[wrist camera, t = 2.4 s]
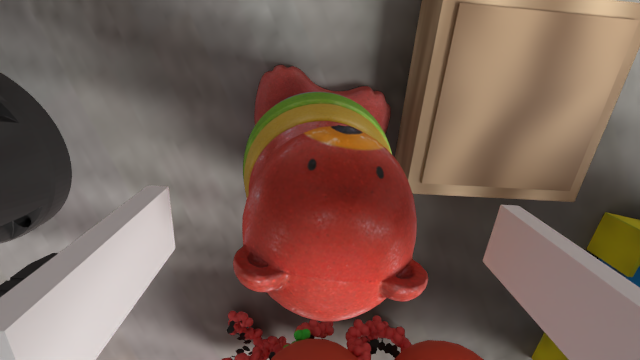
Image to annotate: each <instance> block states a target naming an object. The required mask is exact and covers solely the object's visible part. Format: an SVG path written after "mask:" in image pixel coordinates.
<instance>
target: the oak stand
mask: <svg viewBox="0 0 640 360" xmlns="http://www.w3.org/2000/svg"><path fill="white" fill-rule="evenodd" d="M639 47H640V3H634V2H624V1H615V0H422V2H421V8H420V14H419V20H418V25H417V31H416V37H415V43H414V49H413V54H412V60H411V66H410V72H409V78H408V83H407V89H406V95H405V101H404V107H403V112H402V118H401V124H400V130H399V136H398V141H397V147H396V153H395V159H396V160H397V161H398V162H399V164H400V166H401V167H402V169H403V171H404V173H405V175H406V177H407V179H408V182H409V185H410V187H411V191H412V194H429V195H448V196H468V197H487V198H507V199H526V200H546V201H565V202H575V199H576V197H577V194H578V192H579V190H580V187H581V185H582V183H583V180H584V178H585V175H586V173H587V171H588V168H589V166H590V164H591V161H592V159H593V156H594V154H595V152H596V149H597V147H598V145H599V142H600V140H601V137H602V135H603V133H604V130H605V128H606V126H607V123H608V121H609V118H610V116H611V114H612V111H613V109H614V107H615V104H616V102H617V99H618V97H619V95H620V92H621V90H622V87H623V85H624V83H625V80H626V78H627V76H628V73H629V71H630V68H631V66H632V64H633V61H634V59H635V57H636V54H637V52H638V49H639Z"/></svg>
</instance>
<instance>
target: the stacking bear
mask: <svg viewBox="0 0 640 360" xmlns="http://www.w3.org/2000/svg"><path fill="white" fill-rule="evenodd" d="M390 114H391V109H390V106H389V105H388V104H387V103H386V101H385V96H384V94H383V93H382V92H380V91H373V90H372V89H371V88H370V87H368V86H362V87H358V88H355V89H351V90H348V91H330V90H327V89H324V88H321V87H319V86H317V85H316V84H315V83H313V82H312V81H311V80H310V79H309V78H308V77H307V76H306V75H305V74H304V73H303V72H302V71H301V70H300V69H298V68H297V67H294V66H291V67H285V66H284V65H277V66H275V67H274V69H273V71H268V72H266V73H265V74H264V75H263V76H262V78H261V80H260V83H259V86H258V91H257V95H256V101H255V115H254V118H255V127H254V128H253V130H252V132H251V134H250V136H249V139H248V142H247V145H246V149H245V154H244V161H243V178H244V185H245V192H246V197H247V200H246V205H245V209H244V213H243V224H242V231H243V247H242V248H241V249H239V250H238V251H237V252H236V254H235V256H234V261H233V267H234V272H235V275H236V276H237V278H238V279H239V281H240V282H241V284H243V285H244V286H245V287H247V288H248V289H251V290H253V291H256V292H267V293H268V294H269V295H270V297H271V298H273V299H274V300H275V301H277V302H278V303H279V304H280V305H282V306H283V307H284V308H286V309H288V310H290V311H292V312H293V313H296V314H298V315H300V316H302V317H306V318H309V319H313V320H318V321H339V320H345V319H349V318H353V317H356V316H358V315H360V314H363V313H365V312H367V311H369V310H371V309H372V308H374V307H375V306H377V305H379V304H380V303H381V302H382V301H384V300H385V299H386V298H389V299H392V300H395V301H401V302H403V301H409V300H412V299H414V298H416V297H417V296H419V295H420V294H421V293H422V292H423V291H424V289H425V288H426V285H427V283H428V275H427V272H426V271H425V270H424V269H423V267H422V266H421V265H420V264H419V263H417V262H416V261H414V260H413V257H412V255H413V250H414V246H415V240H416V231H417V218H416V209H415V203H414V198H413V194H412V191H411V187H410V185H409V182H408V179H407V177H406V175H405V173H404V171H403V169H402V167H401V166H400V164H399V162H398V161H397V160H396V159H395V157H394V156H393V155H392V152H391V148H390V145H389V143H388V140H387V138H386V136H385V134H386V131H387V128H388V124H389V120H390Z"/></svg>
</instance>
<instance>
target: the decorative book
mask: <svg viewBox="0 0 640 360" xmlns="http://www.w3.org/2000/svg"><path fill="white" fill-rule="evenodd" d="M587 250H588V251H590V252H591V253H593V254H594V255H596V256H597V257H599V259H598V260H600V261H601V262H603V263H604V264H606V265H607V266H609V267H610V268H612V269H613V270H614V271H616V272H617V273H619V274H620V275H622V276H623V277H625V278H626V279H628V280H629V281H631V282H632V283H634V284H635V285H637V286H638V287H640V220H638V219H633V218H629V217H624V216H620V215H616V214H611V213H607V212H605V213H604V215H603V217H602V219H601V221H600V223H599V225H598V227H597V229H596V231H595V233H594V235H593V237H592V239H591V241H590V243H589V245H588V247H587ZM532 359H533V360H569V359H568V358H567V357H566V356H565V355H564V354H563V352H562V351H561V350H560V349H559V348H558V347H557V346H556V344H555V343H554V342H553V341H552V340H551V339H550V338H549V337H548V335H547V334H546V333H545V332H544V334H543V336H542V338H541V340H540V342H539V344H538V346H537V348H536V350H535V352H534V354H533V356H532Z"/></svg>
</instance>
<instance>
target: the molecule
mask: <svg viewBox="0 0 640 360" xmlns="http://www.w3.org/2000/svg"><path fill="white" fill-rule="evenodd" d="M228 318H229V319H230V320H229V322H228V325H229V327H228V329H227V332H228V334H230V335H235V334H239V335H240V337H238V338H237V339H238V340H244V339H245V340H244V341H245V342H244V343H245V344H247V343H250V342H251V340H253V344H254V345H255V347H254V348H253V350H252V352H250V353H248V354H249V355H251V354H252V355H251V356H248V355H247V354H245V353H243V352H244V350H246V351H250V349H249V348H248V347H246V346H244V347H243V349H244V350H243V349H238V350H236V352H237V355H236V356H231V357H235V359H234V360H266V359H268V358H269V359H270V360H371V354H376V351H377V347H378V349H379V350H380V351H381V350H384V351H385V353H390V354H391V355H393V357H394V358H395V359H394V360H484V359H482V358H481V357H480V356H478V355H477V354H475V353H474V352H473V351H471V350H469V349H467V348H465V347H463V346H461V345H459V344H455V343H450V342H446V341H432V340H427V341H423V342H419V343H416V344H414V345H412V344H411V343H410V342H409V340H408V339H407V338H405V330H404V329H403V328H402V327H397V328H396V329H395V328H390V327H389V325H388V322H386V321H381V317H380V316H378V315H375V316H374V317H373V319H372V320H373V321H371V320H369V321H367V322H366V323H365V324H363V323H362V321H361V320H360V319H356V320H354V323H353V324H354V327H350V328H349V329H348V332H347V333H346V340H347V347H348V349H346V348H344V347H343V346H341V345H339V344H337V343H335V342H332V341H329V340H326V339H314V336H315V337H320V338H325V337H326V336H327V335H329V336H330V335H332V334H333V333H334V329H333V321H325V322H321V323H319V322H317V320H313V319H311V320H310V321H309V323H307V322H303V323H302V324H301V325H299V326H298V327H297V328H296V331H295V332H294V337H295V339H296V341H294V342H293V343H292V344H289V343H286V338H285V337H284V336H281V337H280V338H279V339H277V338H276V337H274V336H269V337H268V338H267V339H263V340H262V338H261V336H262V334H263V331H262V330H261V329H258V328H256V329H253V328H248V329H247V328H246V327H251V326H252V325H253V319H252V318H248V314H247V313H244V312H242V311H240V312H238V313H236V312H235V311H230V312H229V314H228ZM238 332H239V333H238ZM361 335H362V337H361ZM359 337H360V338H359ZM378 337H379V338H382V341H383V338H387V339H391V341H392V342H393V343H395V345H393V346H392V345H391V344H390V343H388V344H386V346H385V343H384V342H380V343H379V340H377V339H378ZM246 339H251V340H246ZM397 347H400V348H401V353H400V352H399V351H397ZM231 357H230V358H223V359H222V360H233V359H231Z"/></svg>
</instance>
